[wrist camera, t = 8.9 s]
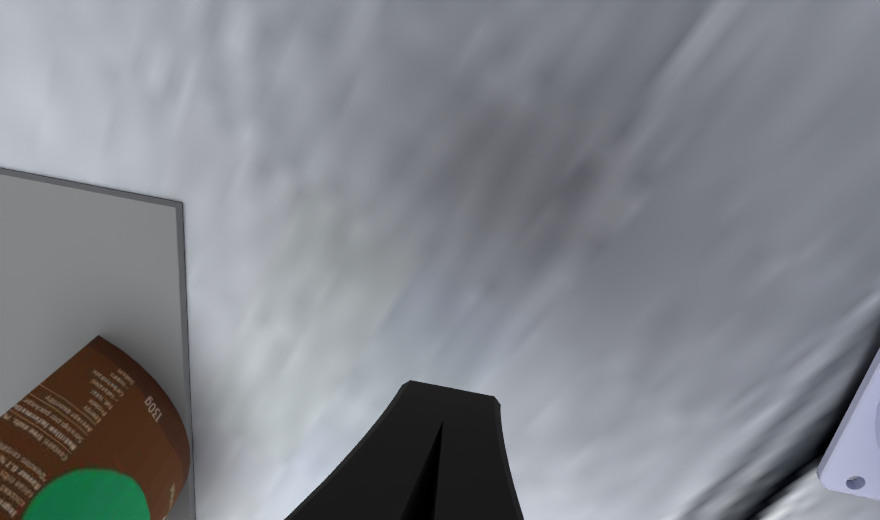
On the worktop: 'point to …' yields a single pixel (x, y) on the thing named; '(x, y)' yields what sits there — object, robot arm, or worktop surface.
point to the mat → (92, 287)
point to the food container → (93, 443)
